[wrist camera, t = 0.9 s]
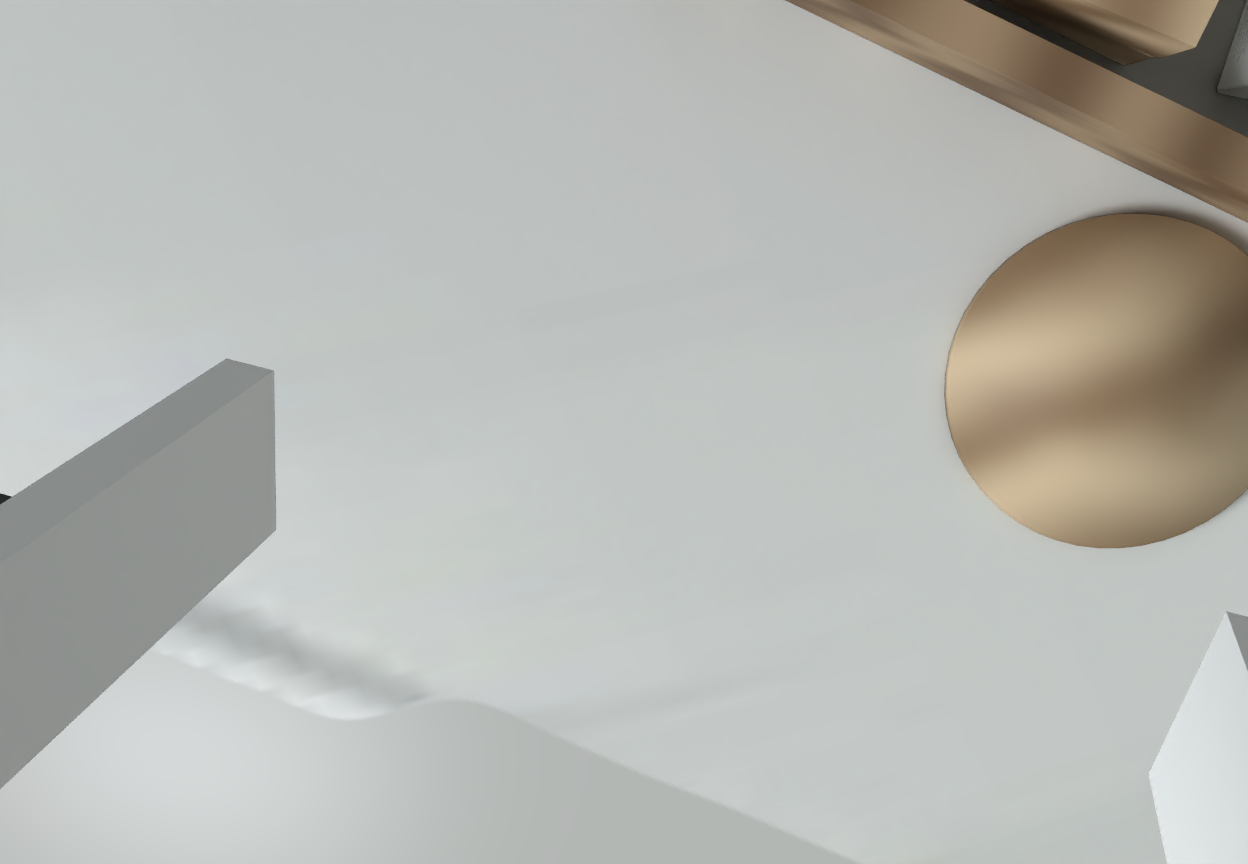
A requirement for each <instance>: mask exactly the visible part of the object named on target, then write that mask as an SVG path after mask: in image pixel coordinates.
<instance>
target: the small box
mask: <svg viewBox="0 0 1248 864" xmlns="http://www.w3.org/2000/svg"><path fill="white" fill-rule="evenodd" d="M1217 91H1218V92H1219V93H1221V94H1227V95H1232V96H1236V97H1240V98H1245V99H1248V0H1247V1H1246V4H1245V7H1244V10H1243V12H1242V15H1241V18H1240V21H1239V24H1238V27H1237V30H1236V33H1235V36H1234V39H1233V42H1232V45H1231V48H1230V51H1229V54H1228V57H1227V60H1226V63H1225V66H1224V69H1223V72H1222V75H1221V78H1220V81H1219V84H1218V87H1217Z"/></svg>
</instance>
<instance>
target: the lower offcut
mask: <svg viewBox="0 0 1248 864" xmlns="http://www.w3.org/2000/svg"><path fill="white" fill-rule="evenodd" d="M990 1H992V2H994V3H996V4H999V5H1001V6H1003V7H1005V8H1007V9H1009V10H1011V11H1013V12H1015V13H1017V14H1019V15H1021V16H1023V17H1025V18H1027V19H1029V20H1031V21H1033V22H1036V23H1038V24H1040V25H1042V26H1044V27H1046V28H1048V29H1050V30H1052V31H1054V32H1056V33H1058V34H1060V35H1062V36H1064V37H1066V38H1068V39H1070V40H1073V41H1075V42H1077V43H1079V44H1081V45H1083V46H1085V47H1087V48H1089V49H1091V50H1093V51H1095V52H1097V53H1099V54H1101V55H1103V56H1105V57H1107V58H1110V59H1112V60H1114V61H1116V62H1118V63H1120V64H1122V65H1124V66H1127V65H1130V64H1133V63H1136V62H1139V61H1142V60H1145V59H1148V58H1151V57H1152V56H1151V55H1149V54H1147V53H1144V52H1142V51H1139V50H1137V49H1135V48H1132V47H1130V46H1128V45H1125V44H1123V43H1120V42H1118V41H1116V40H1113V39H1111V38H1109V37H1106V36H1104V35H1101V34H1099V33H1097V32H1094V31H1092V30H1090V29H1087V28H1085V27H1082V26H1080V25H1078V24H1075V23H1073V22H1071V21H1068V20H1066V19H1063V18H1061V17H1059V16H1056V15H1054V14H1052V13H1049V12H1047V11H1045V10H1042V9H1040V8H1037V7H1035V6H1033V5H1030V4H1028V3H1026V2H1023V1H1021V0H990Z"/></svg>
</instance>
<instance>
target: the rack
mask: <svg viewBox="0 0 1248 864" xmlns="http://www.w3.org/2000/svg"><path fill="white" fill-rule="evenodd" d="M786 1H788V2H790V3H792V4H794V5H797V6H799V7H801V8H803V9H805V10H807V11H809V12H811V13H813V14H815V15H817V16H819V17H822V18H824V19H826V20H828V21H830V22H832V23H834V24H836V25H838V26H840V27H842V28H844V29H846V30H849V31H851V32H853V33H855V34H857V35H859V36H861V37H863V38H865V39H867V40H869V41H871V42H874V43H876V44H878V45H880V46H882V47H884V48H886V49H888V50H890V51H892V52H894V53H896V54H898V55H901V56H903V57H905V58H907V59H909V60H911V61H913V62H915V63H917V64H919V65H921V66H923V67H926V68H928V69H930V70H932V71H934V72H936V73H938V74H940V75H942V76H944V77H946V78H948V79H950V80H953V81H955V82H957V83H959V84H961V85H963V86H965V87H967V88H969V89H971V90H973V91H975V92H978V93H980V94H982V95H984V96H986V97H988V98H990V99H992V100H994V101H996V102H998V103H1000V104H1002V105H1005V106H1007V107H1009V108H1011V109H1013V110H1015V111H1017V112H1019V113H1021V114H1023V115H1025V116H1027V117H1030V118H1032V119H1034V120H1036V121H1038V122H1040V123H1042V124H1044V125H1046V126H1048V127H1050V128H1052V129H1054V130H1057V131H1059V132H1061V133H1063V134H1065V135H1067V136H1069V137H1071V138H1073V139H1075V140H1077V141H1079V142H1082V143H1084V144H1086V145H1088V146H1090V147H1092V148H1094V149H1096V150H1098V151H1100V152H1102V153H1104V154H1106V155H1109V156H1111V157H1113V158H1115V159H1117V160H1119V161H1121V162H1123V163H1125V164H1127V165H1129V166H1131V167H1134V168H1136V169H1138V170H1140V171H1142V172H1144V173H1146V174H1148V175H1150V176H1152V177H1154V178H1156V179H1158V180H1161V181H1163V182H1165V183H1167V184H1169V185H1171V186H1173V187H1175V188H1177V189H1179V190H1181V191H1183V192H1186V193H1188V194H1190V195H1192V196H1194V197H1196V198H1198V199H1200V200H1202V201H1204V202H1206V203H1208V204H1210V205H1213V206H1215V207H1217V208H1219V209H1221V210H1223V211H1225V212H1227V213H1229V214H1231V215H1233V216H1235V217H1238V218H1240V219H1242V220H1244V221H1246V222H1248V137H1246V136H1244V135H1242V134H1240V133H1238V132H1236V131H1234V130H1231V129H1229V128H1227V127H1225V126H1223V125H1221V124H1219V123H1217V122H1215V121H1213V120H1211V119H1209V118H1207V117H1205V116H1202V115H1200V114H1198V113H1196V112H1194V111H1192V110H1190V109H1188V108H1186V107H1184V106H1182V105H1180V104H1178V103H1175V102H1173V101H1171V100H1169V99H1167V98H1165V97H1163V96H1161V95H1159V94H1157V93H1155V92H1153V91H1151V90H1149V89H1146V88H1144V87H1142V86H1140V85H1138V84H1136V83H1134V82H1132V81H1130V80H1128V79H1126V78H1124V77H1122V76H1119V75H1117V74H1115V73H1113V72H1111V71H1109V70H1107V69H1105V68H1103V67H1101V66H1099V65H1097V64H1095V63H1093V62H1090V61H1088V60H1086V59H1084V58H1082V57H1080V56H1078V55H1076V54H1074V53H1072V52H1070V51H1068V50H1066V49H1063V48H1061V47H1059V46H1057V45H1055V44H1053V43H1051V42H1049V41H1047V40H1045V39H1043V38H1041V37H1039V36H1037V35H1034V34H1032V33H1030V32H1028V31H1026V30H1024V29H1022V28H1020V27H1018V26H1016V25H1014V24H1012V23H1010V22H1007V21H1005V20H1003V19H1001V18H999V17H997V16H995V15H993V14H991V13H989V12H987V11H985V10H983V9H981V8H978V7H976V6H974V5H972V4H970V3H968V2H966V1H964V0H786Z"/></svg>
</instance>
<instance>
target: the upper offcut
mask: <svg viewBox="0 0 1248 864" xmlns="http://www.w3.org/2000/svg"><path fill="white" fill-rule="evenodd" d="M1021 1H1023V2H1026V3H1028V4H1030V5H1033V6H1035V7H1037V8H1040V9H1042V10H1045V11H1047V12H1049V13H1052V14H1054V15H1056V16H1059V17H1061V18H1063V19H1066V20H1068V21H1071V22H1073V23H1075V24H1078V25H1080V26H1082V27H1085V28H1087V29H1090V30H1092V31H1094V32H1097V33H1099V34H1101V35H1104V36H1106V37H1109V38H1111V39H1113V40H1116V41H1118V42H1120V43H1123V44H1125V45H1128V46H1130V47H1132V48H1135V49H1137V50H1139V51H1142V52H1144V53H1147V54H1149V55H1151V56H1154V57H1156V58H1158V59H1160V58H1163V57H1166V56H1170V55H1173V54H1176V53H1179V52H1182V51H1185V50H1189V49H1192V48H1195V47H1196V45H1197V43H1198V41H1199V39H1200V37H1201V35H1202V33H1203V31H1204V29H1205V27H1206V25H1207V23H1208V21H1209V19H1210V17H1211V15H1212V13H1213V11H1214V9H1215V7H1216V5H1217V3H1218V1H1219V0H1021Z"/></svg>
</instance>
